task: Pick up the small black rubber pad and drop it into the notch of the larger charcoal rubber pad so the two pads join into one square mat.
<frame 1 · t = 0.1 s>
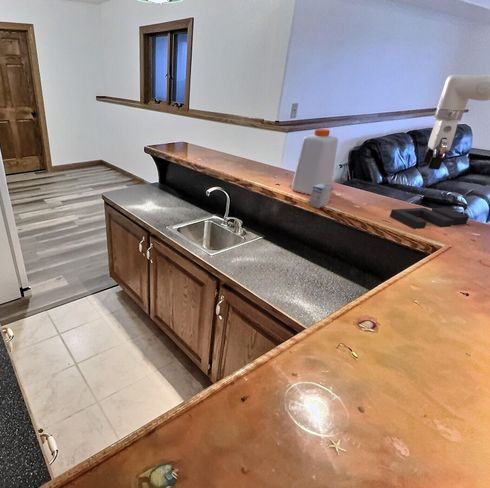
hand: (430, 165, 124), 21 cm above the counter, tool pointing down, fingers open, 9 cm apart
medicine box: (318, 205, 148), on the counter
plastic bottle: (310, 191, 166), on the counter
base pad: (418, 221, 133), on the counter
black pad: (447, 219, 135), on the counter
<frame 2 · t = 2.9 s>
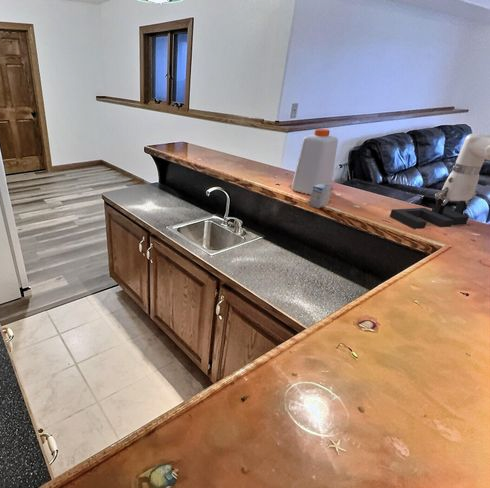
hand: (447, 213, 135), 2 cm above the counter, tool pointing down, fingers open, 8 cm apart
base pad: (418, 221, 133), on the counter, touching gripper
everything else where it was.
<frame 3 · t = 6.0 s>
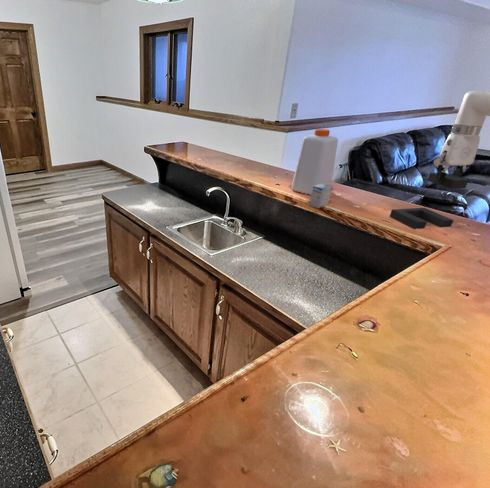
hand: (446, 181, 126), 16 cm above the counter, tool pointing down, fingers closed on black pad, 6 cm apart
base pad: (418, 221, 133), on the counter
black pad: (445, 184, 126), point 15 cm above the counter, touching gripper
everything else where it was.
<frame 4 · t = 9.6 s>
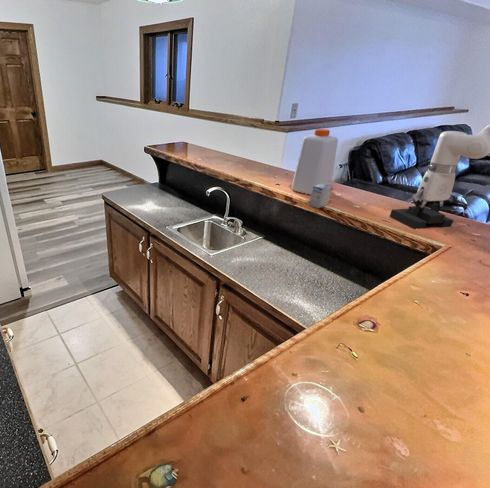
hand: (424, 215, 130), 3 cm above the counter, tool pointing down, fingers closed on black pad, 6 cm apart
black pad: (424, 218, 130), point 2 cm above the counter, touching gripper
everything else where it was.
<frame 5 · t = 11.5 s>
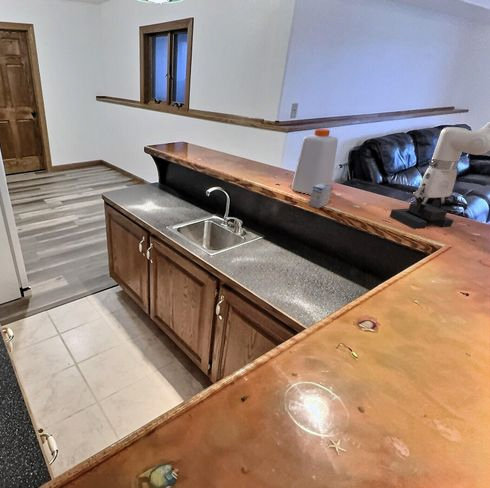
hand: (426, 212, 129), 4 cm above the counter, tool pointing down, fingers closed on black pad, 6 cm apart
black pad: (425, 215, 130), point 3 cm above the counter, touching gripper
everything else where it was.
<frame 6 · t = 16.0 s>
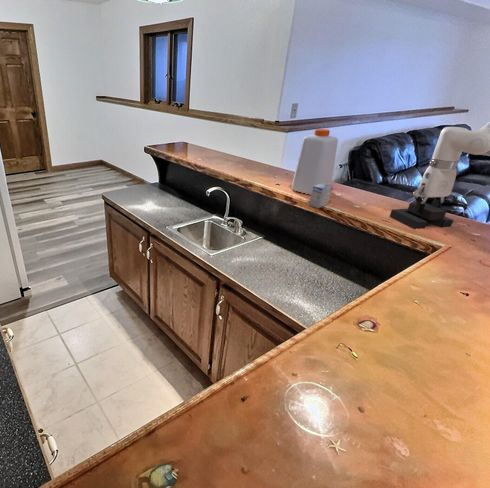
hand: (425, 212, 130), 4 cm above the counter, tool pointing down, fingers closed on black pad, 6 cm apart
black pad: (424, 214, 130), point 4 cm above the counter, touching gripper
everything else where it was.
when the fingers open (4 cm above the counter, at t = 20.0 s): black pad drops 3 cm, resting in base pad.
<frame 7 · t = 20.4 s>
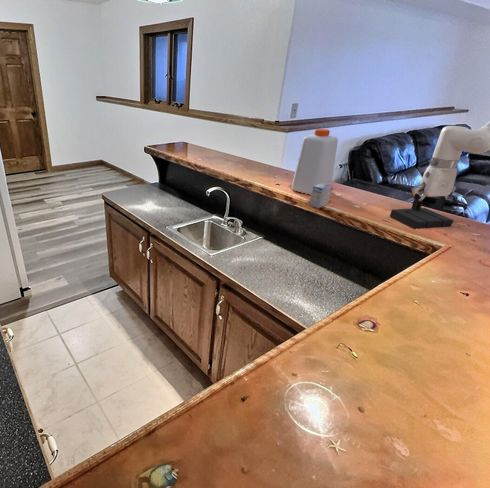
hand: (426, 209, 129), 5 cm above the counter, tool pointing down, fingers open, 9 cm apart
black pad: (421, 223, 131), resting in base pad
everything else where it was.
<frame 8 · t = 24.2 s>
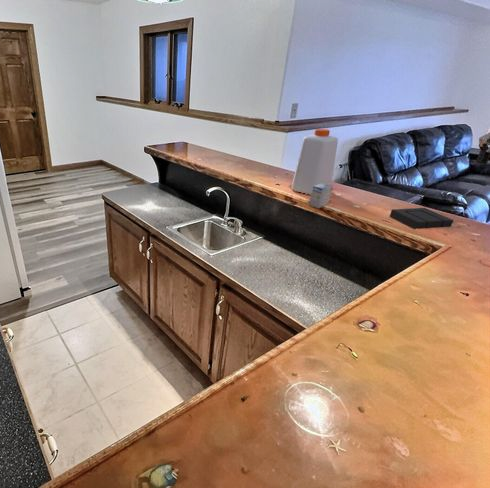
nothing on the counter moved.
at the end: black pad 0.2 cm from the target spot on the base pad, point 0.0 cm above the base pad's base; black pad tilted 0°; the gripper is holding nothing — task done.
